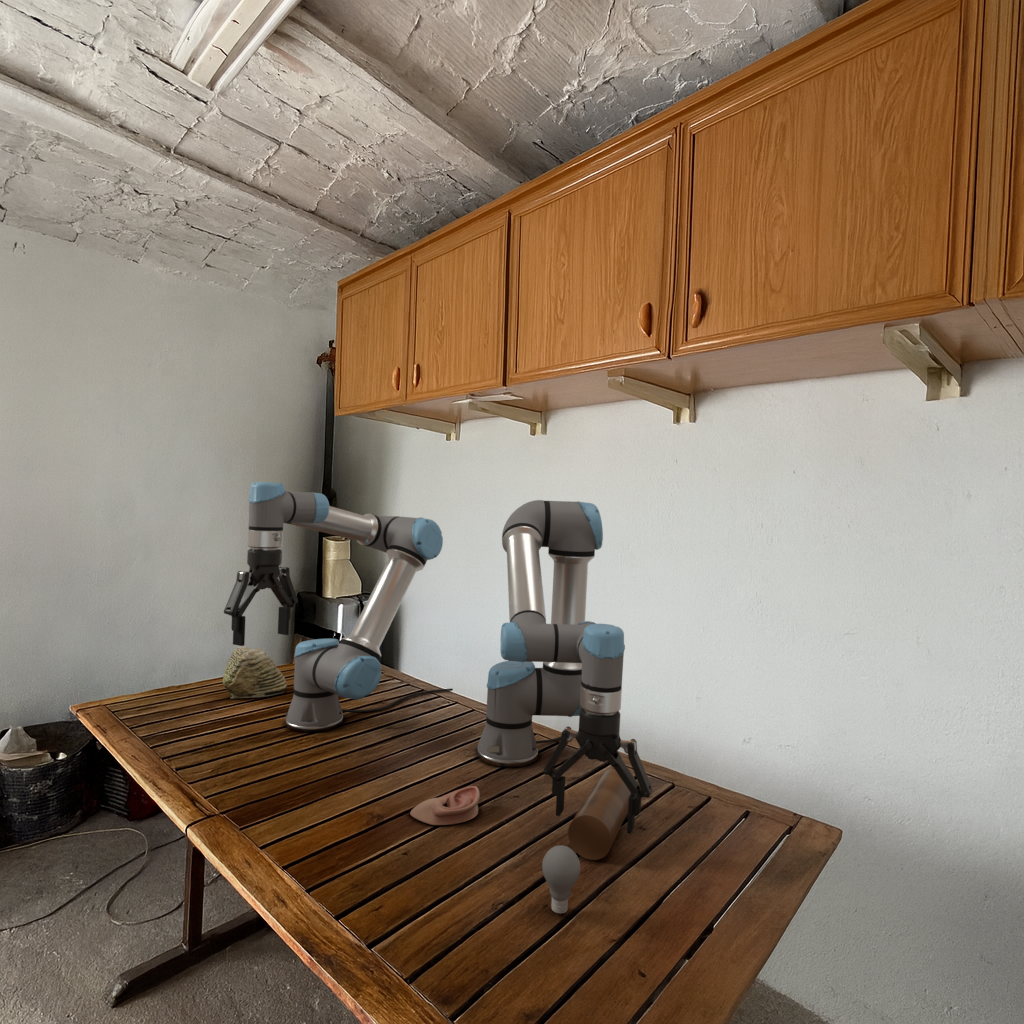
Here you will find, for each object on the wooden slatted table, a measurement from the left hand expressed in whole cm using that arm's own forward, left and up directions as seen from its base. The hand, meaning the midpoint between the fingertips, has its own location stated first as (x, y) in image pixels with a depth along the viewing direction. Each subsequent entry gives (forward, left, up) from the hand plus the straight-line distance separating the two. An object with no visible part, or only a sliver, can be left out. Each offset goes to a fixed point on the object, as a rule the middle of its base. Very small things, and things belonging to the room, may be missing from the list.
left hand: (261, 639), depth 148 cm
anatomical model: (-14, +48, -29) cm, 58 cm away
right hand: (-24, +77, -24) cm, 84 cm away
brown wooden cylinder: (-30, +75, -29) cm, 86 cm away
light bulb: (-4, +83, -29) cm, 88 cm away
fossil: (-26, -48, -29) cm, 62 cm away
